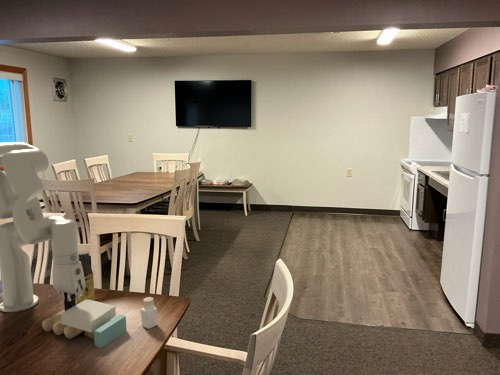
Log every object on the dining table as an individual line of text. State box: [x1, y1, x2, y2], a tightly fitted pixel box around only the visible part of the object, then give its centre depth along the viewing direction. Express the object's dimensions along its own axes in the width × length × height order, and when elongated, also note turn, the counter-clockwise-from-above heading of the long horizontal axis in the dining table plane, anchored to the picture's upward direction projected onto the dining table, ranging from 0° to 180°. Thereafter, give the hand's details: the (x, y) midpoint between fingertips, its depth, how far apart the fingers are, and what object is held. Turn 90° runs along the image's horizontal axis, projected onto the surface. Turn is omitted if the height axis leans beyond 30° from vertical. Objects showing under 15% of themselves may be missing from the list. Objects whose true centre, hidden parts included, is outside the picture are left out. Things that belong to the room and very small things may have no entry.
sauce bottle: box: [75, 250, 95, 305], centre depth 146 cm, size 7×6×20 cm
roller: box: [87, 320, 110, 340], centre depth 127 cm, size 7×4×4 cm
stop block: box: [93, 314, 127, 348], centre depth 124 cm, size 2×11×5 cm, turn 155°
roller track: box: [41, 309, 89, 340], centre depth 129 cm, size 22×12×4 cm, turn 65°
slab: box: [61, 299, 117, 333], centre depth 128 cm, size 12×11×4 cm
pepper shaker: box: [140, 296, 158, 330], centre depth 131 cm, size 4×4×10 cm
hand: (70, 310), depth 131 cm, fingers closed
